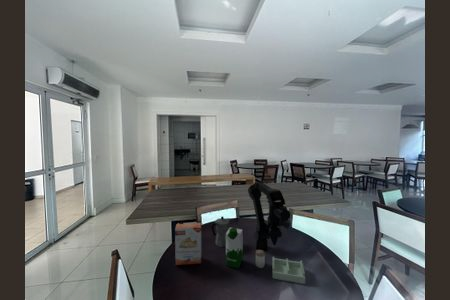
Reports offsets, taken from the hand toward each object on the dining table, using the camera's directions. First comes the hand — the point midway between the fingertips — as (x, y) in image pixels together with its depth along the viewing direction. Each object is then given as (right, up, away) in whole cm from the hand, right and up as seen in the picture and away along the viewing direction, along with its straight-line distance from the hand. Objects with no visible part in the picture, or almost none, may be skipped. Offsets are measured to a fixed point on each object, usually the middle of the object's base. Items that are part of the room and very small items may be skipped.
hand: (273, 240), depth 101 cm
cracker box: (-47, -13, +1) cm, 49 cm away
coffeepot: (-30, -12, +19) cm, 37 cm away
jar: (-8, -13, -1) cm, 15 cm away
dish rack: (+5, -13, -8) cm, 16 cm away
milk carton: (-22, -13, 0) cm, 25 cm away
